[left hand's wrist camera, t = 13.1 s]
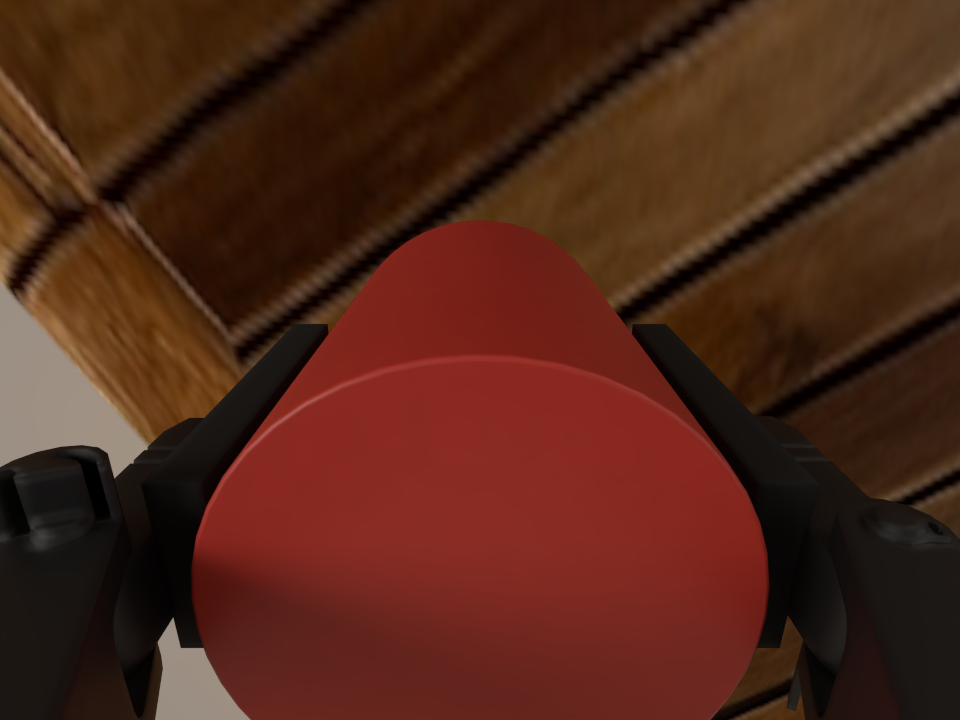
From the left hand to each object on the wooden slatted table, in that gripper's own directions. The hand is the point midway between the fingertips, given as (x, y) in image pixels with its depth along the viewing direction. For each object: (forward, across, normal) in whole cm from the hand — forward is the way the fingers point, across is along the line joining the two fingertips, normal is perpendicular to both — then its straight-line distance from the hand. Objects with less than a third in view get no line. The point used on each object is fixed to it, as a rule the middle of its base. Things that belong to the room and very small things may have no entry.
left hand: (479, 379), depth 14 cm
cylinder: (+2, 0, 0) cm, 2 cm away
